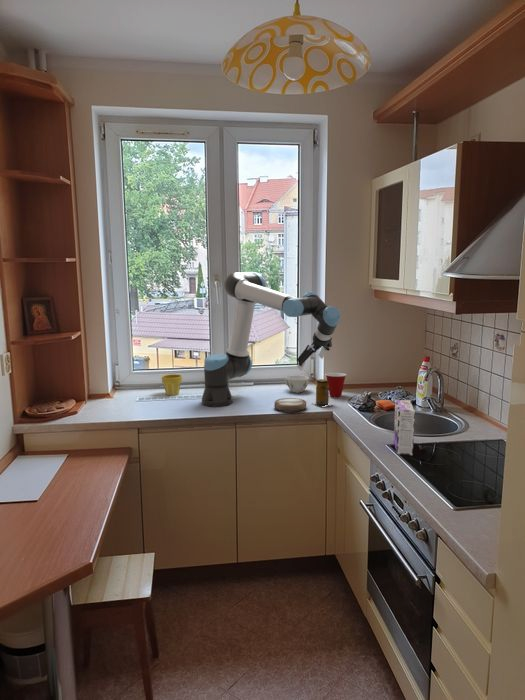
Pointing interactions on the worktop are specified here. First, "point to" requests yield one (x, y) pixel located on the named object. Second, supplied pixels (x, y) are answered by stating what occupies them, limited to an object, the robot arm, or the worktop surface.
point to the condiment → (322, 393)
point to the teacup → (297, 383)
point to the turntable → (290, 404)
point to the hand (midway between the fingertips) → (310, 362)
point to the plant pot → (172, 383)
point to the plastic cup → (335, 383)
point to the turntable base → (290, 411)
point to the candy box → (404, 427)
